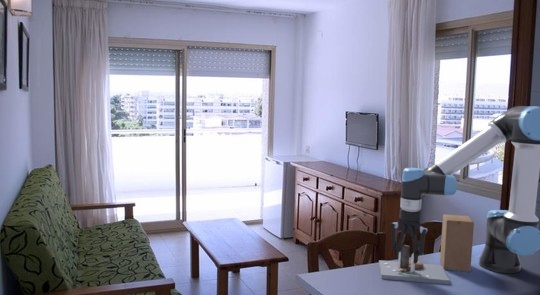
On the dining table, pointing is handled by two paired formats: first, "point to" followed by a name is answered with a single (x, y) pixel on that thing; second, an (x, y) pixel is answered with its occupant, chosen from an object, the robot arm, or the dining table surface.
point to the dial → (407, 260)
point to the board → (414, 273)
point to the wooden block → (456, 242)
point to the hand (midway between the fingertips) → (406, 269)
